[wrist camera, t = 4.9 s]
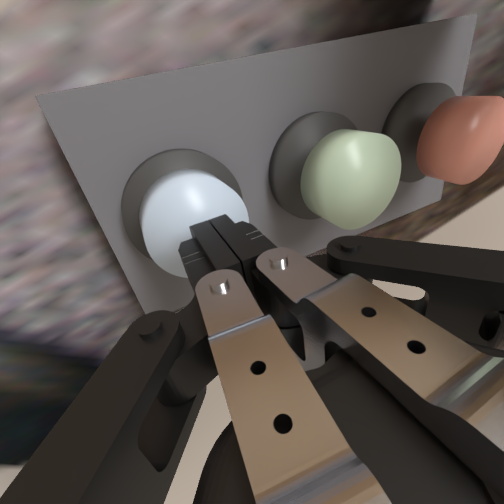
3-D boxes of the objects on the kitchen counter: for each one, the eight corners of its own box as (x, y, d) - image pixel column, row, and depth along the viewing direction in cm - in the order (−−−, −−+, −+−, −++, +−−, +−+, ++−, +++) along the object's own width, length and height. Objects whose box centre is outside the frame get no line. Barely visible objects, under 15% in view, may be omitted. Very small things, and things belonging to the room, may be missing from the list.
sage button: (373, 119, 15) (406, 122, 13) (369, 202, 17) (396, 213, 16) (296, 141, 14) (322, 147, 12) (303, 227, 16) (325, 242, 14)
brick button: (480, 88, 17) (520, 87, 15) (463, 166, 19) (495, 172, 18) (422, 105, 16) (458, 106, 14) (411, 185, 18) (441, 194, 17)
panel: (446, 20, 19) (492, 9, 16) (419, 193, 25) (449, 202, 23) (43, 96, 12) (30, 96, 10) (145, 302, 19) (150, 330, 16)
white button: (222, 157, 13) (238, 165, 12) (240, 240, 16) (256, 256, 14) (122, 185, 12) (125, 198, 11) (159, 271, 15) (165, 292, 13)
